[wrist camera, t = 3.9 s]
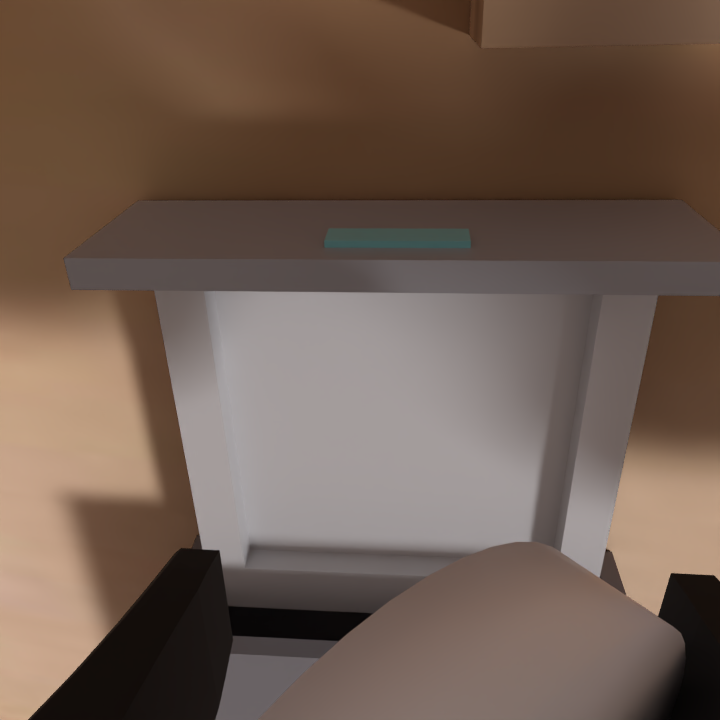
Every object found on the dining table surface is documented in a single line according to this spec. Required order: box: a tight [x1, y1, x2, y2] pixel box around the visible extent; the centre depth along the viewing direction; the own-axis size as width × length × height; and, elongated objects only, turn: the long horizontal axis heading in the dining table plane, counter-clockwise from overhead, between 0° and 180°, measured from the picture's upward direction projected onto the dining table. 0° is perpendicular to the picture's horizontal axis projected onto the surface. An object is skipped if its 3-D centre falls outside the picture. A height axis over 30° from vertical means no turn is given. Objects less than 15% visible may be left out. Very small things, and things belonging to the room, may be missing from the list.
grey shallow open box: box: [64, 200, 720, 613], centre depth 18 cm, size 14×13×4 cm
